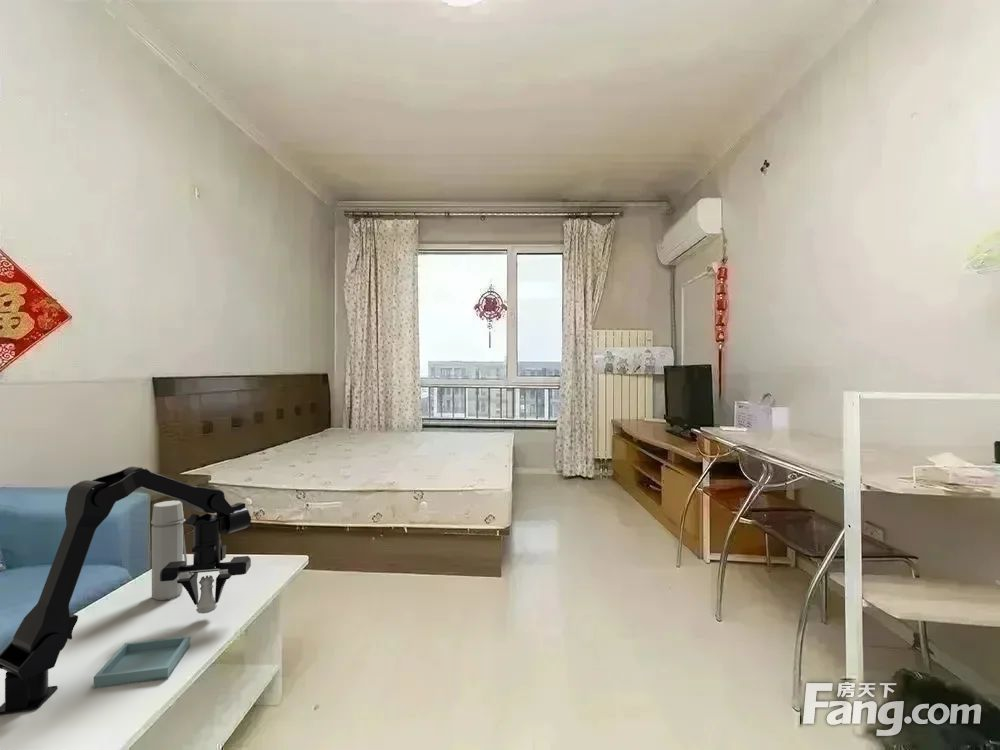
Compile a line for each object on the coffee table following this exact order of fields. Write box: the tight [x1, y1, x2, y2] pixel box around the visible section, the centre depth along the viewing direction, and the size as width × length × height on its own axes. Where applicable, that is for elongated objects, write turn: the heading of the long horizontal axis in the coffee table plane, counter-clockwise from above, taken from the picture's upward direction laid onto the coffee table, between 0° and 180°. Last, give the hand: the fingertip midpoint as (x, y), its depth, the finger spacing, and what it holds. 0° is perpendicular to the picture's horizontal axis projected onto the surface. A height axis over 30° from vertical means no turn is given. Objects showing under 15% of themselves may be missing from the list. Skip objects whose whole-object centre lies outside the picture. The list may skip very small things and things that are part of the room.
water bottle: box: [150, 500, 188, 601], centre depth 139 cm, size 9×8×25 cm
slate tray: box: [93, 635, 191, 689], centre depth 105 cm, size 13×13×2 cm
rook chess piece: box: [195, 575, 218, 614], centre depth 125 cm, size 4×4×8 cm
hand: (206, 603), depth 125 cm, fingers closed on rook chess piece, 4 cm apart
